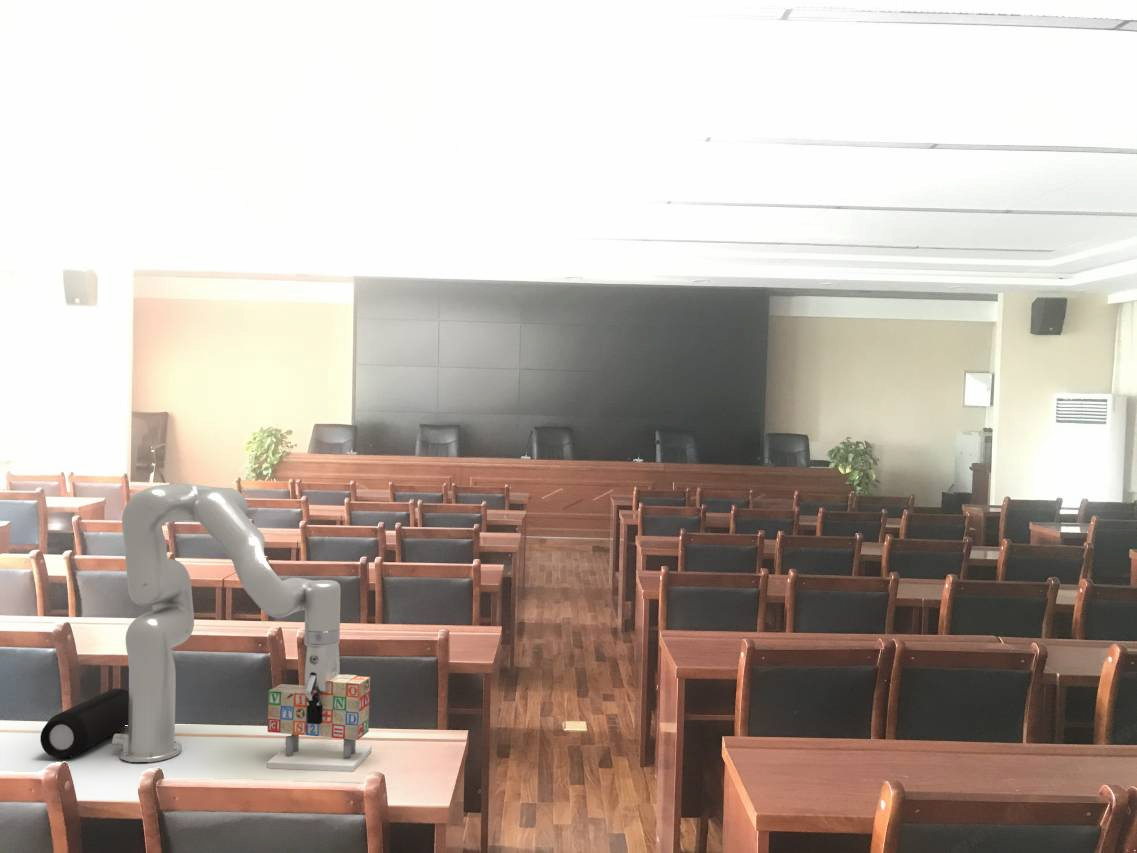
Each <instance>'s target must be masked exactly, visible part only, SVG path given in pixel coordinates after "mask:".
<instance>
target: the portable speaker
mask: <svg viewBox="0 0 1137 853" xmlns="http://www.w3.org/2000/svg"><path fill="white" fill-rule="evenodd" d="M128 714H129V689H124V688H112V689H109V690H106V691H103V693H100V694H98V695H96V696H94V697H92V698H90V699H87V700H86V701H83V702H81V703H79V704H77V705H74V706H72V707H71V708H68V709H66V710H63V711H62V712H59V713H57V714H56V715H54V716H52V717H51V718H50V719H49V720H48V721H47V722H46V724H45V725H44V726H43V728H42V731H41V733H40V745H41V748H42V749H43V751H44V752H45V753H46V754H47V755H48V756H50V757H52V758H57V759H59V758H60V759H67V758H66V757H70V756H73V757H75V756H76V755H78V754H80V752H81V753H82V752H84V751H86V750H88V749H90V748H91V747H93V746H95V745H96V744H98V743H100V742H102V741H104V740H105V739H107V738H109V737H111V736H113V735H114V733H115V734H116V732H117V733H118V732H120V731H122V730H123V728H124V727H126V728H128V726H125V725H128ZM121 729H122V730H121ZM124 729H125V728H124ZM119 730H120V731H119ZM112 734H113V735H112ZM110 735H111V736H110ZM103 739H104V740H103ZM101 740H102V741H101ZM94 744H95V745H94ZM92 745H93V746H92ZM87 748H88V749H87ZM70 758H71V757H70Z"/></svg>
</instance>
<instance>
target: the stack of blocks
mask: <svg viewBox="0 0 1137 853" xmlns="http://www.w3.org/2000/svg"><path fill="white" fill-rule="evenodd" d="M314 690H319V687H315V688H314ZM305 692H306V690H305V685H300V684H284V683H281V684H279V685H277V686H275V687H274V688H271V689H269V690H268V691H267V705H268V706H267V733H275V734H277V733H278V734H285V735H291V734H295V735H299V736H307V737H308V736H309V737H310V736H311V737H322V738H332V739H342V740H344V739H351V740H356V741H358V740H360V739H362V737H363V736H365V735H366V734H368V733H369V730H370V729H369V728H370V718H369V717H370V699H371V676H361V675H360V676H359V675H356V674H340V675H339V674H338V675H336V676H335V677H334V678H332V679H331V680H329V691H327V692H323V691H322V692H323V693H322V699H321V705H322V723H321V724H308V723H307V698H306V694H305ZM314 695H316V697H317V698H318V694H314Z"/></svg>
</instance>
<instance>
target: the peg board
mask: <svg viewBox="0 0 1137 853" xmlns="http://www.w3.org/2000/svg"><path fill="white" fill-rule="evenodd" d="M299 741H300V735H295V734H290V735H288V736H287V735H286V737H285V747H284V748H282V749H281V750H280V751H279V752H278V753H277V754H275V755H274V756H273V757H271V758H270V759H269V760H268V761H267V762H266V769H277V770H282V769H283V770H303V771H306V770H307V771H324V772H325V771H330V772H348V773H349V772H350V773H351V772H355V770H356V769H358V767H359V766H360V765H361V764H362V763H363V762H364V761H365V759H367V757H368V756H369V755H370V754H371V753H370V751H371V750H372V745H356V742H357V740H351V739H343V744H327V743H326V744H325V743H324V744H323V743H319V744H318V743H300V742H299ZM369 753H370V754H369ZM368 754H369V755H368ZM367 755H368V756H367ZM366 756H367V757H366Z"/></svg>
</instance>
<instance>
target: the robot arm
mask: <svg viewBox="0 0 1137 853" xmlns="http://www.w3.org/2000/svg"><path fill="white" fill-rule="evenodd" d="M248 507H249V506H248V502H247V499H246V498H245V496H244V494H242V493H241V492H240V491H238V489H237V490H236V489H234V488H232V487H231V488H230V487H219V486H217V487H215V486H208V485H199V484H190V483H175V484H173V483H172V484H160V485H159V484H158V485H154V486H151V487H147V488H145V489H143V490H141V491H138V493H136V494H134V495H133V496H132V497H130V499H129V501H128V502H127V503H126V504H125V507H124V509H123V511H122V512H123V513H122V517H121V528H122V536H123V541H124V542H123V543H124V551H125V552H124V553H125V554H124V555H125V556H124V558H125V567H126V569H125V570H126V578H127V579H126V580H127V589H128V595H129V598H130V600H132V602H133V603H134V604H136V606H137V605H138V606H142V607H151V606H152V610H150V611H148V612H145V613H143V614H140V616H137V617H136V618H135V619H134V620H133V621H132V622H131V623H130V624H129V626H128V628H127V630H126V634H125V647H126V654H127V660H128V691H129V714H128V726H127V728H128V729H127V733H125V734H124V733H118V732H117V733H115V734H113V735H112V736H113V737H112V741H111V744H112V745H113V746H122V749H121V750H120V752H119V758H120V757H121V759H120V760H122V759H123V760H126V761H130V762H129V763H131V762H148V763H153V762H154V763H155V762H161V761H165V760H169V759H171V758H174V757H176V756H177V755H180V754H181V752H182V750H183V748H182V746H183V745H182V743H180V742H179V741H175V736H176V735H175V731H176V728H175V727H176V724H175V723H176V688H177V686H176V684H177V682H176V677H177V676H176V675H177V673H176V664H175V659H174V656H173V651H172V649H173V648H175V647H178V646H180V645H182V644H183V643H185V642H186V641H187V640H189V638H190V637H191V635H192V633H193V631H194V626H195V613H194V602H193V592H192V582H191V576H190V573H189V571H188V569H187V568H186V566H185V565H184V564H183V563H181V562H180V561H178V560H176V559H172V558H168V549H167V547H168V546H167V540H166V537H165V534H164V532H163V530H162V526H163V525H164V524H167V523H172V522H173V523H174V522H178V521H179V522H180V521H190V522H191V521H192V522H198V523H199V524H200V525H201V526H202V527H203V528H204V529H205V530H206V532H207V533H208V534H209V536H211V538H212V539H213V540H214V541H215V542H216V543H217V544H218V546H219V547H220V548H221V549H222V551H223V552H224V553H225V555H227V556H228V559H230V560H231V562H232V564H233V568H234V571H235V574H236V575H237V577H238V580H239V583H240V584H241V586H242V588H243V589H244V591H245V592H246V593H247V595H248V596H249V597H250V599H252V600H253V602H254V603H255V604H256V605H257V606H258V608H259V609H260V610H261V611H263V613H265V614H267V615H268V616H269V617H272V618H276V619H282V618H286V617H288V616H290V615H292V614H294V613H297V612H300V611H304V643H303V644H304V646H306V656H305V665H304V686H305V690H306V692H305V694H306V698H307V723H308V724H321V723H322V705H321V699H322V693H323V692H327V691H329V680H331V679H332V678H334V677H335V676H336V675H338V674H339V675H341V672H340V671H341V668H340V666H341V665H340V662H341V661H340V649H339V648H340V647H339V646H340V641H341V640H340V639H341V638H340V636H341V634H340V633H341V632H340V630H341V628H340V626H341V592H342V591H341V585H340V583H339V582H338V581H336V580H333V579H332V580H331V579H317V580H312V579H308V578H307V579H306V578H302V577H289V578H286V579H284V580H282V579H281V578H280V577H279V576H278V574H276V572H275V571H274V570H273V568H272V566H270V564H269V562H268V561H267V559H266V555H265V541H266V540H265V536H264V534H263V532H261V531H260V529H258V527H257V526H256V524H254V523H253V522H252V521H251V520H250V519H249V517H248V516H247V512H248ZM315 687H319V690H314V688H315ZM322 691H323V692H322ZM314 694H318V698H317V697H316V695H314ZM123 760H122V761H123ZM126 761H125V762H126Z"/></svg>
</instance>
